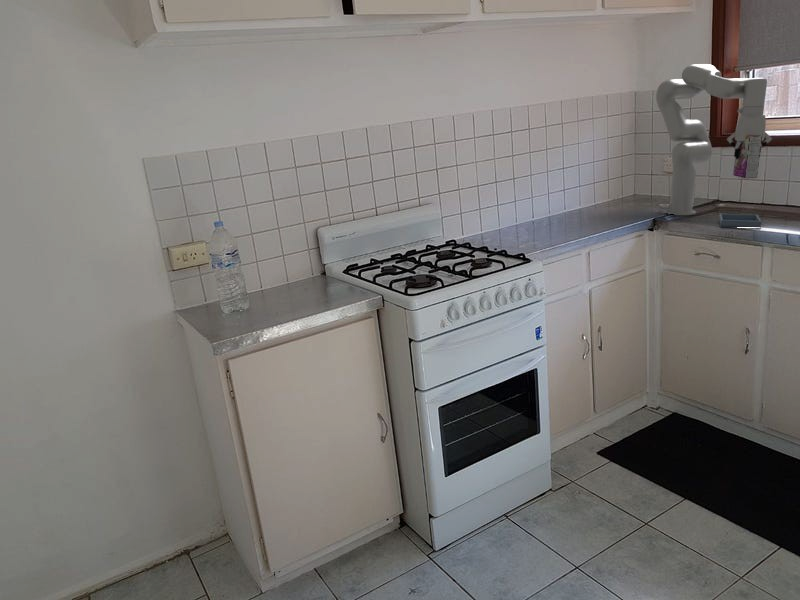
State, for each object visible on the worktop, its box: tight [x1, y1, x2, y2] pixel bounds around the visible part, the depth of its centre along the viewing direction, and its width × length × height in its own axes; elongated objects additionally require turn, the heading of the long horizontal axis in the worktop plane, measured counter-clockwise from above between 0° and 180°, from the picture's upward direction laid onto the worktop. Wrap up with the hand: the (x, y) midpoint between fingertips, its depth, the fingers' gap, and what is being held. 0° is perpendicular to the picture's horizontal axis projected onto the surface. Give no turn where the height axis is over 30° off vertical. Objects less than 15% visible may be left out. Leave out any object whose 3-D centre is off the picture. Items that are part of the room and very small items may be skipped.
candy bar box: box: [732, 135, 763, 179], centre depth 252 cm, size 11×5×16 cm, turn 176°
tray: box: [718, 213, 762, 229], centre depth 260 cm, size 14×16×3 cm
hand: (746, 158), depth 252 cm, fingers closed on candy bar box, 6 cm apart
